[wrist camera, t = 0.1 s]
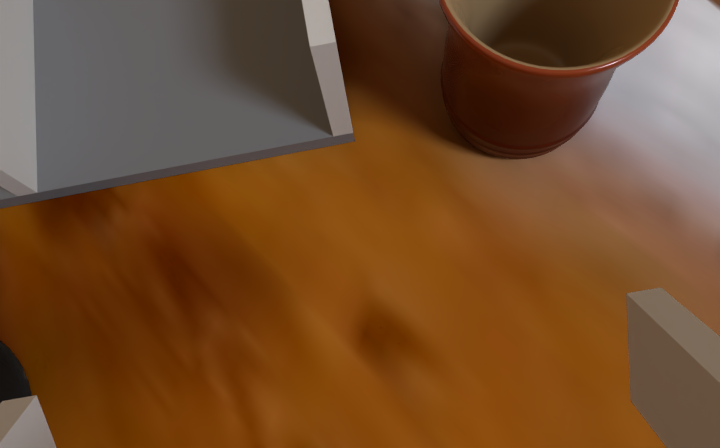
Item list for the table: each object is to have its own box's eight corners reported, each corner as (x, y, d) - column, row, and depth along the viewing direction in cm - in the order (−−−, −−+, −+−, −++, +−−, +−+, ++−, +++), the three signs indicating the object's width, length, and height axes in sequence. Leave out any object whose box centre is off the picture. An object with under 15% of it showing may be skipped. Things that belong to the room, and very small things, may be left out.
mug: (638, 110, 32) (738, -26, 23) (505, 216, 31) (550, 122, 21) (478, -41, 36) (504, -217, 26) (353, 50, 34) (331, -97, 25)
